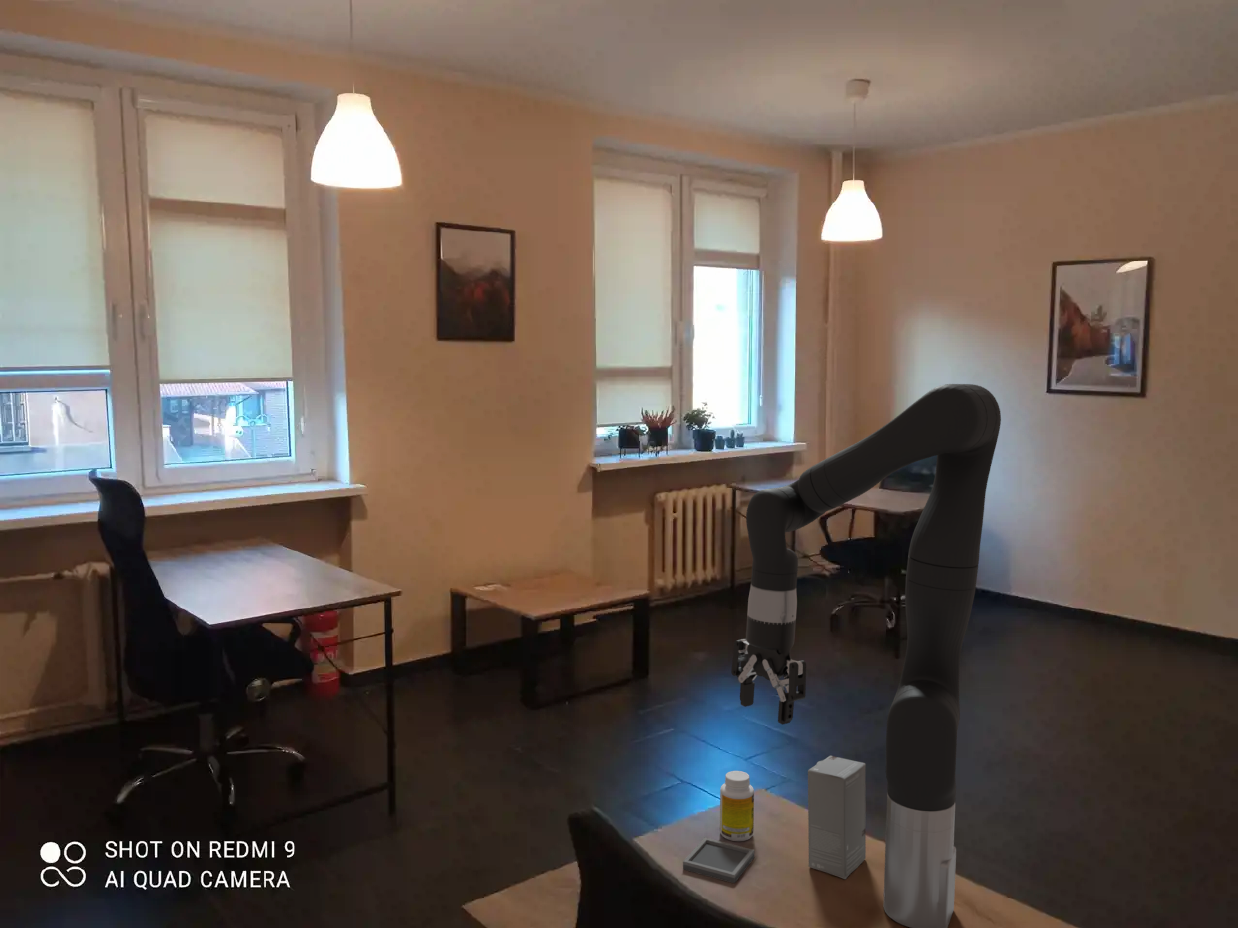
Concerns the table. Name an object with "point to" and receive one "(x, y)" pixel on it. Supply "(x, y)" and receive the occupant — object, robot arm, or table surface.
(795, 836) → the table surface
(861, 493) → the robot arm
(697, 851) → the charcoal tray
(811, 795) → the skincare box
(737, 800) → the supplement bottle
